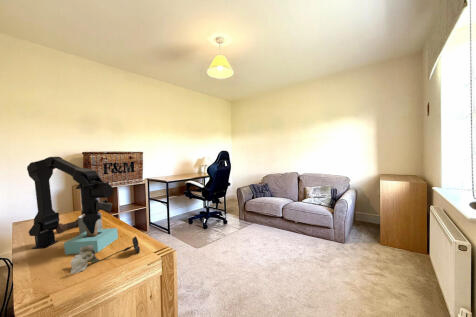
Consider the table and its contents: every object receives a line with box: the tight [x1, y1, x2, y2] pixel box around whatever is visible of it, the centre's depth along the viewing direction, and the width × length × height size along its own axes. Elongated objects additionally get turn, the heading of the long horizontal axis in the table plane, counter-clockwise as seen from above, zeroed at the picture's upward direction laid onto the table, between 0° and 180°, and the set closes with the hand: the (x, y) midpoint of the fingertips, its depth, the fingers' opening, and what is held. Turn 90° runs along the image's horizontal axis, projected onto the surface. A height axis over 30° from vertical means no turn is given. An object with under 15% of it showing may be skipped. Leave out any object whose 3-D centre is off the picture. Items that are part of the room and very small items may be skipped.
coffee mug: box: [77, 211, 103, 235], centre depth 109 cm, size 13×10×10 cm
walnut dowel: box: [86, 221, 98, 237], centre depth 92 cm, size 4×4×10 cm
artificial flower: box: [70, 236, 141, 275], centre depth 77 cm, size 9×22×10 cm, turn 118°
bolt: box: [55, 218, 79, 234], centre depth 119 cm, size 6×5×15 cm
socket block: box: [63, 227, 119, 255], centre depth 92 cm, size 14×14×5 cm
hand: (92, 232), depth 92 cm, fingers closed on walnut dowel, 4 cm apart
